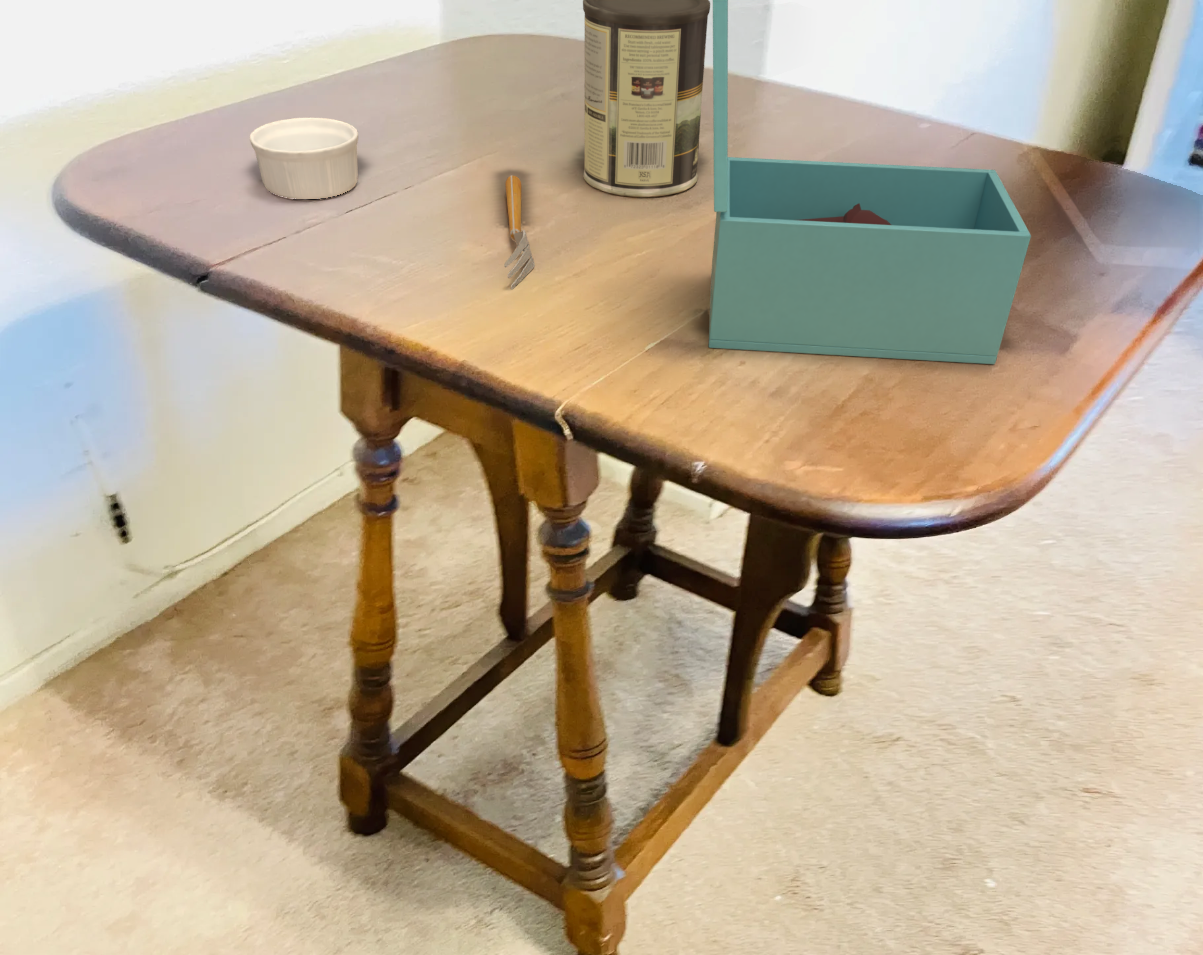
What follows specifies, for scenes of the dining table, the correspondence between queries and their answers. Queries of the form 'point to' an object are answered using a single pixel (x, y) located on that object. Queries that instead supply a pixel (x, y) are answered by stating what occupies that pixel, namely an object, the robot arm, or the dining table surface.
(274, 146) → the ramekin
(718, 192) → the lid
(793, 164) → the box
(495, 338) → the dining table surface
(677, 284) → the dining table surface
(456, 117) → the dining table surface
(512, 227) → the fork
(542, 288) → the dining table surface
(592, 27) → the coffee can
